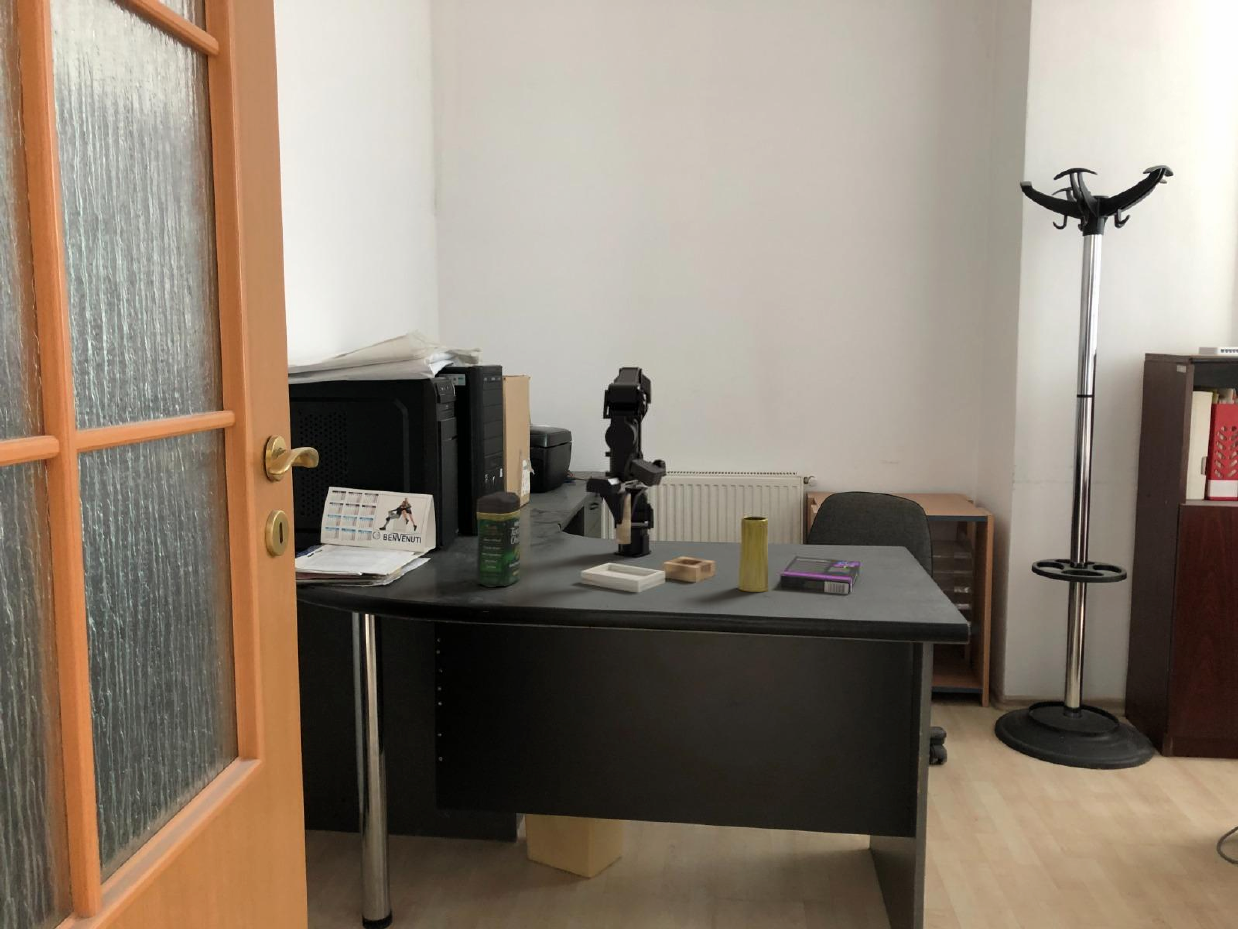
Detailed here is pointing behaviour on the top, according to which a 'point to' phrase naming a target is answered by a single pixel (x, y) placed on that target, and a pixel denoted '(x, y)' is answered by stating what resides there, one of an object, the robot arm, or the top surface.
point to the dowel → (625, 523)
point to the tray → (623, 577)
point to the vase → (754, 554)
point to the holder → (689, 569)
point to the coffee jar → (498, 539)
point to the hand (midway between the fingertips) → (623, 523)
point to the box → (820, 575)
